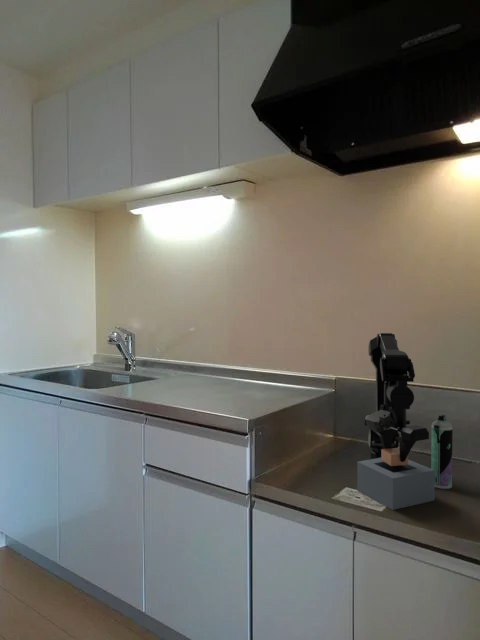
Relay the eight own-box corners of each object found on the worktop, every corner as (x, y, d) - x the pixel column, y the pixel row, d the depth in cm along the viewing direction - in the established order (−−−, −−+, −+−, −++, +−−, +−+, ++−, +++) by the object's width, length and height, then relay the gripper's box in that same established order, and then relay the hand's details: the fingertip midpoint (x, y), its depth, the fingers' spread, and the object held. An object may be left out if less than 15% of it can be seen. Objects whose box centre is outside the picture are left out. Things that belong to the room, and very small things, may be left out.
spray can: (450, 490, 131) (451, 418, 131) (429, 486, 134) (430, 416, 134) (453, 484, 136) (454, 414, 135) (433, 480, 139) (433, 412, 138)
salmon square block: (397, 458, 131) (397, 447, 131) (408, 464, 126) (408, 453, 126) (381, 460, 130) (381, 449, 130) (391, 466, 125) (391, 454, 125)
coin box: (396, 482, 137) (396, 454, 137) (434, 500, 125) (434, 470, 124) (357, 490, 132) (357, 461, 132) (392, 510, 119) (392, 478, 119)
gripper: (349, 397, 133) (348, 452, 133) (396, 410, 116) (396, 474, 116) (380, 393, 137) (380, 447, 138) (430, 406, 120) (430, 467, 121)
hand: (394, 458), depth 128 cm, fingers closed on salmon square block, 5 cm apart
